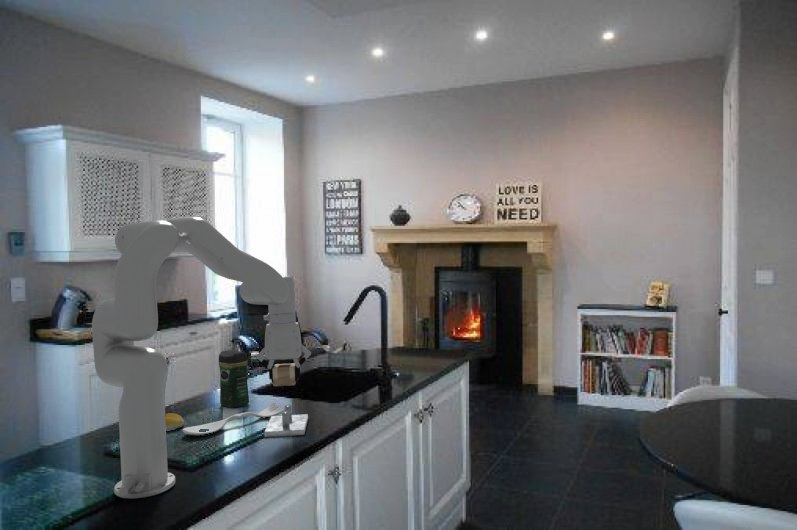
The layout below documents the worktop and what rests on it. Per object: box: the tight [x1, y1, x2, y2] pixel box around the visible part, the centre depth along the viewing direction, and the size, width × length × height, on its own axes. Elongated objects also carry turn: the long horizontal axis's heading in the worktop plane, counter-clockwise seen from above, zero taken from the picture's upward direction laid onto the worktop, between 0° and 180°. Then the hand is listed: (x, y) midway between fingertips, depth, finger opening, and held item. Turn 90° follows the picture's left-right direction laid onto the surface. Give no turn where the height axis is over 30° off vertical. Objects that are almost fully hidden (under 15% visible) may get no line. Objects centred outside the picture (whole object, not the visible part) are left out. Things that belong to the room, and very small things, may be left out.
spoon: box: [182, 402, 285, 436], centre depth 176 cm, size 9×32×4 cm, turn 133°
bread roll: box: [165, 412, 185, 429], centre depth 175 cm, size 8×9×4 cm
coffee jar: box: [218, 349, 250, 408], centre depth 198 cm, size 10×8×19 cm
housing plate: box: [264, 404, 309, 438], centre depth 172 cm, size 15×11×6 cm
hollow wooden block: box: [272, 362, 297, 387], centre depth 168 cm, size 6×6×5 cm
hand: (285, 380), depth 168 cm, fingers closed on hollow wooden block, 6 cm apart
